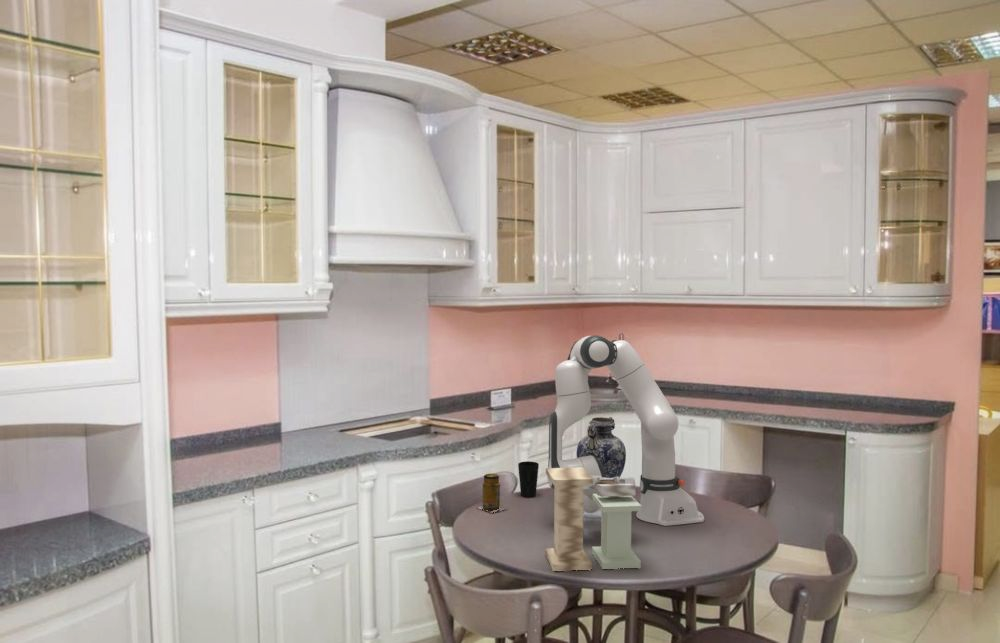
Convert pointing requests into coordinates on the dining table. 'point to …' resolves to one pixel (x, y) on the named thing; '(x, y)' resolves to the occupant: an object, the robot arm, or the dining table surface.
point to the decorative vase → (604, 446)
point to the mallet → (615, 489)
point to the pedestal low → (616, 532)
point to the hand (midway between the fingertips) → (607, 479)
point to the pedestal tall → (568, 519)
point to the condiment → (491, 492)
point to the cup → (528, 478)
